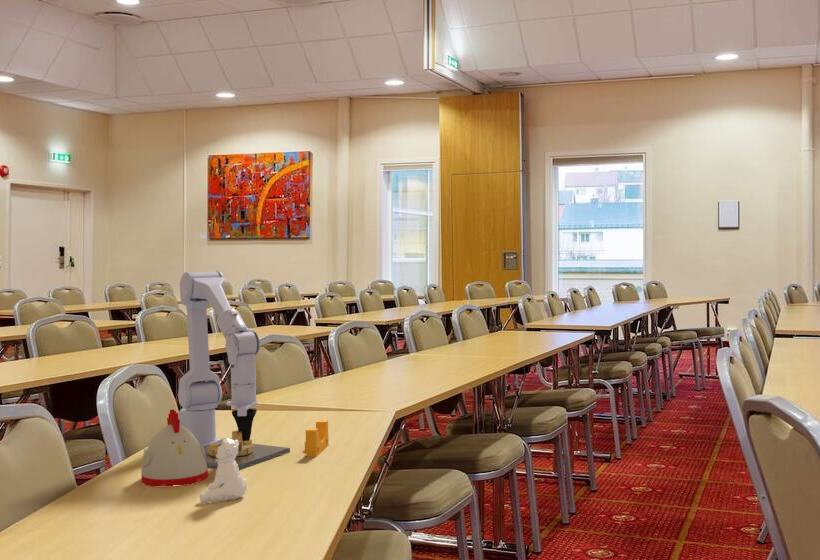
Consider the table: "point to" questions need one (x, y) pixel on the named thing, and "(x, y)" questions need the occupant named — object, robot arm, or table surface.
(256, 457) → the housing
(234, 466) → the seated beast figurine
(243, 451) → the ring nut
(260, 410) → the table surface
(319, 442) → the pipe clamp
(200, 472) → the kitchen timer
